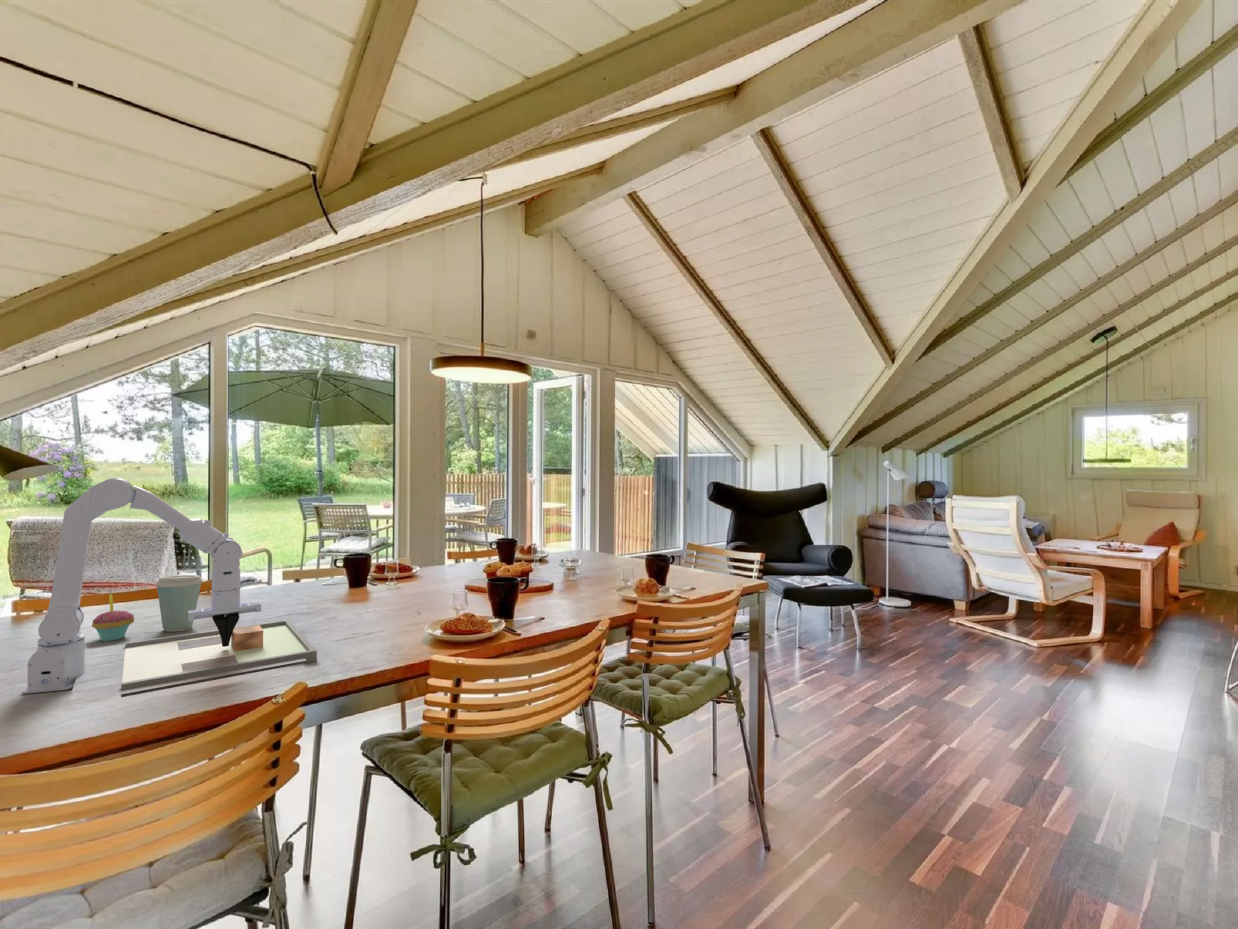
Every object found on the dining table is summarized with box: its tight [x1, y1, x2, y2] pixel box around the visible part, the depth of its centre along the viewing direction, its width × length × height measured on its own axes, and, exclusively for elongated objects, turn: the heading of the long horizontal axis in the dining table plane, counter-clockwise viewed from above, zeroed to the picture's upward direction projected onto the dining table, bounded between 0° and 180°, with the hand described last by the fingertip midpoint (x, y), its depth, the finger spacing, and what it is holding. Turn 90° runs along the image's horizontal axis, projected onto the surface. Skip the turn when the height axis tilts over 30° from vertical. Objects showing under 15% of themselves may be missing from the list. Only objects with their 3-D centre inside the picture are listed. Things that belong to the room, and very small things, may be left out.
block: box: [231, 625, 263, 651], centre depth 145 cm, size 6×6×4 cm
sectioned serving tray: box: [120, 619, 318, 698], centre depth 141 cm, size 35×34×2 cm
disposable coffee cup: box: [155, 574, 204, 633], centre depth 164 cm, size 11×11×15 cm
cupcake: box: [91, 591, 135, 642], centre depth 155 cm, size 9×8×12 cm
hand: (225, 645), depth 142 cm, fingers closed
